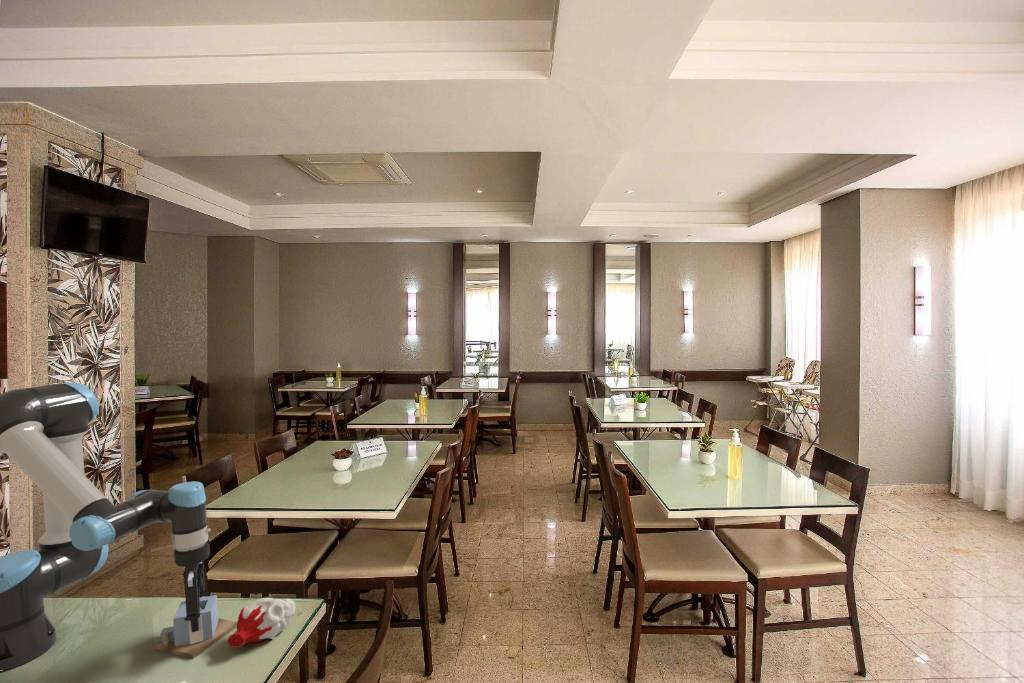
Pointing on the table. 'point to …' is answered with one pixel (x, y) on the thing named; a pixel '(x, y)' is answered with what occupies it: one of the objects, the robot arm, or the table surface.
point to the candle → (262, 620)
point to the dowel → (165, 639)
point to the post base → (199, 647)
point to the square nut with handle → (181, 627)
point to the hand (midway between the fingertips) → (199, 631)
